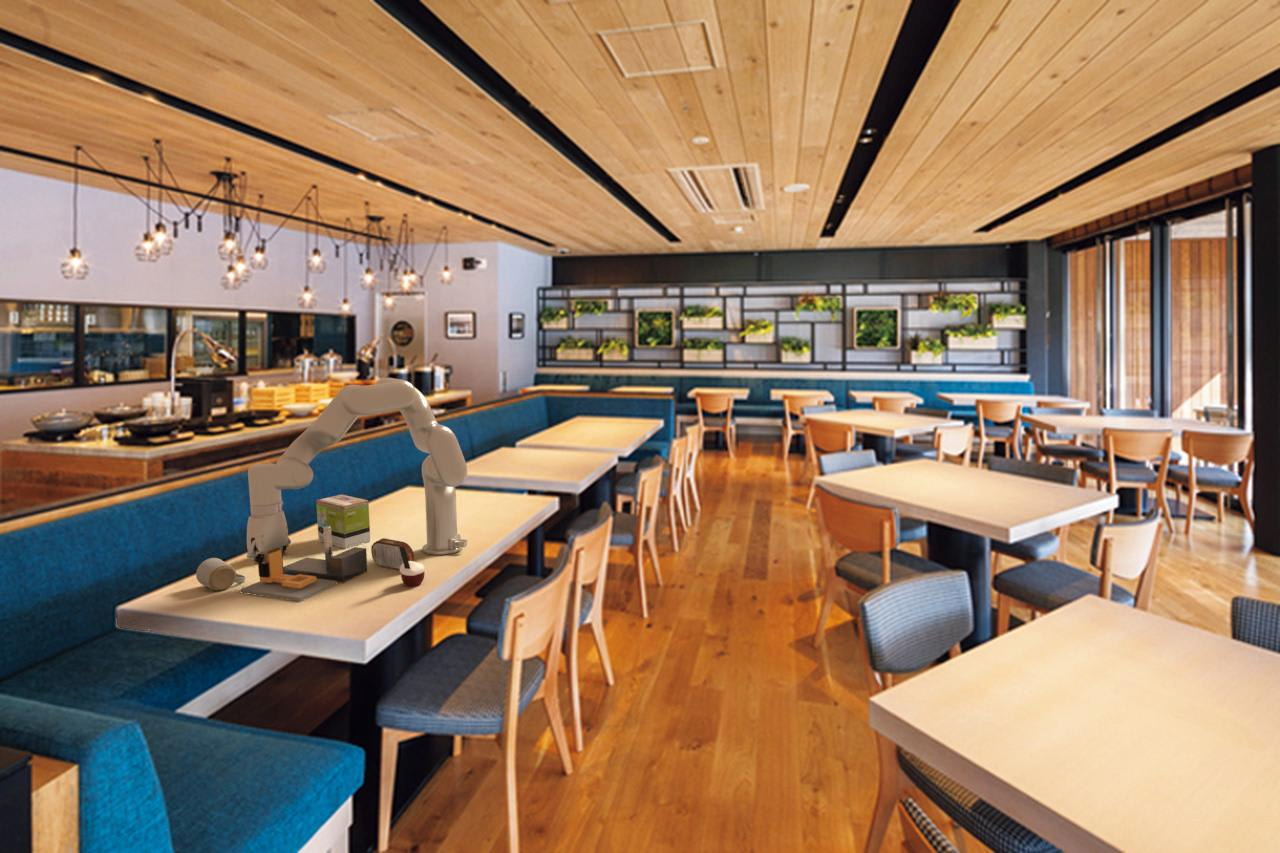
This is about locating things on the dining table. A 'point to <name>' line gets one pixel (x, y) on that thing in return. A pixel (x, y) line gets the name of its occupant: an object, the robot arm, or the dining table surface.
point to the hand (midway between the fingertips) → (271, 573)
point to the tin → (390, 553)
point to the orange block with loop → (277, 572)
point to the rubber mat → (288, 589)
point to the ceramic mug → (217, 574)
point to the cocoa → (411, 570)
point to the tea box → (344, 520)
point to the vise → (331, 563)
